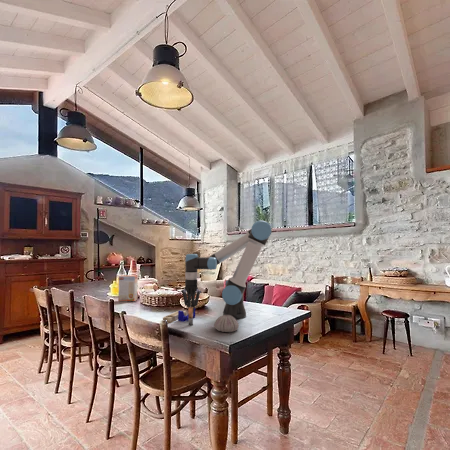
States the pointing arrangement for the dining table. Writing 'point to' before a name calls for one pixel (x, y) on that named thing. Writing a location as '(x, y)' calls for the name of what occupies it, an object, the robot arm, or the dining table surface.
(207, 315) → the dining table surface
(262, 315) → the dining table surface
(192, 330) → the dining table surface
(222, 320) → the sea urchin shell
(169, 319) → the joist batten
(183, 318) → the cable clip
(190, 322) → the awl
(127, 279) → the cracker box
